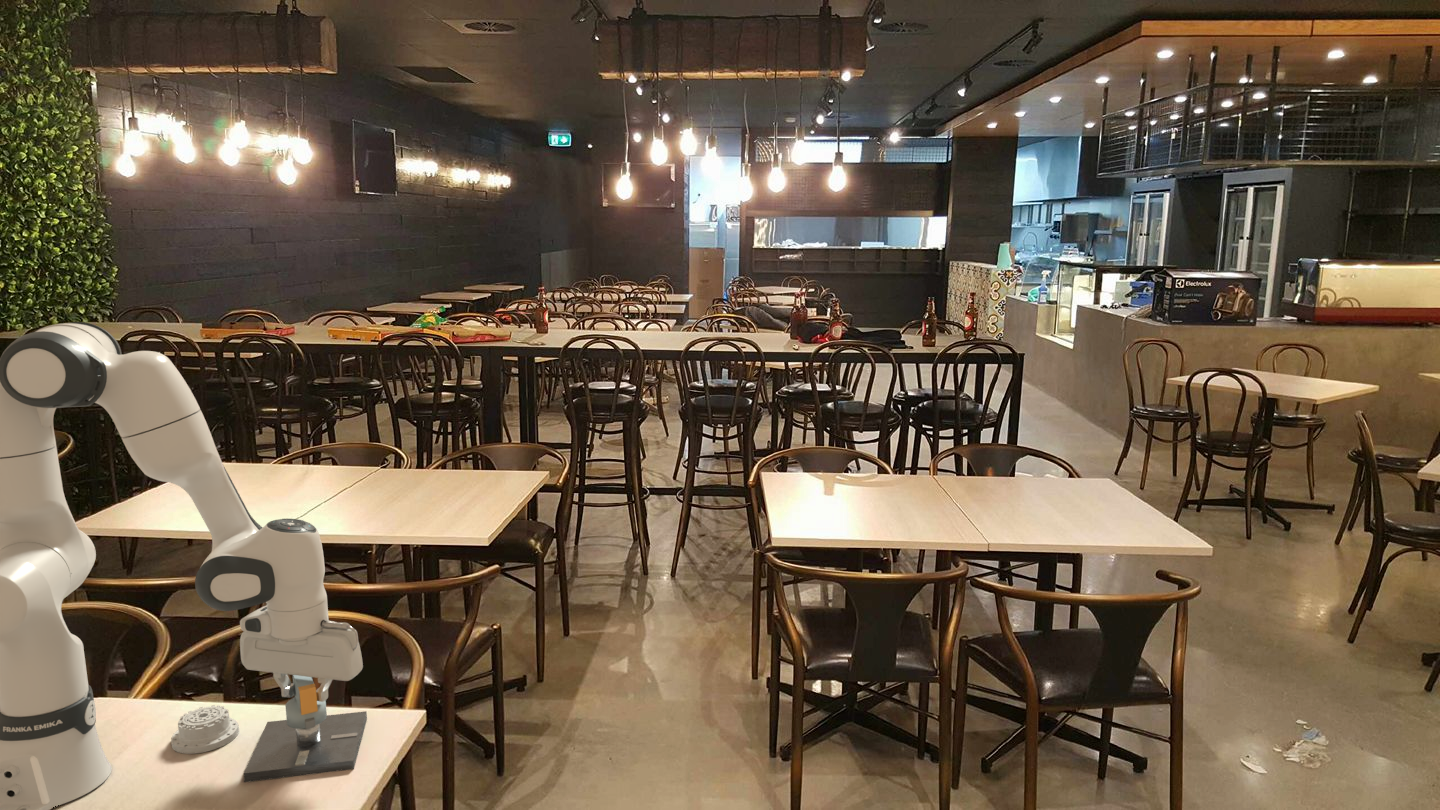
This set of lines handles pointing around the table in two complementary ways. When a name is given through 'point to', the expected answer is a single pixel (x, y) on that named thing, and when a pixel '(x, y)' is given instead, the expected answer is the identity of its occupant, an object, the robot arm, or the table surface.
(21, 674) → the robot arm
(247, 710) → the table surface
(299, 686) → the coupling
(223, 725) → the mechanical component
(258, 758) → the post plate
